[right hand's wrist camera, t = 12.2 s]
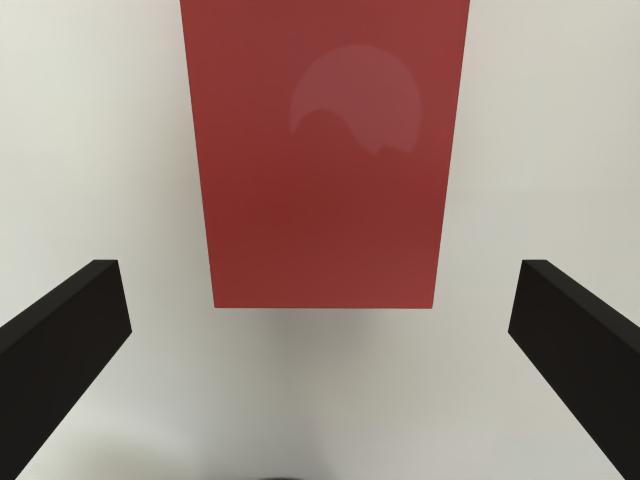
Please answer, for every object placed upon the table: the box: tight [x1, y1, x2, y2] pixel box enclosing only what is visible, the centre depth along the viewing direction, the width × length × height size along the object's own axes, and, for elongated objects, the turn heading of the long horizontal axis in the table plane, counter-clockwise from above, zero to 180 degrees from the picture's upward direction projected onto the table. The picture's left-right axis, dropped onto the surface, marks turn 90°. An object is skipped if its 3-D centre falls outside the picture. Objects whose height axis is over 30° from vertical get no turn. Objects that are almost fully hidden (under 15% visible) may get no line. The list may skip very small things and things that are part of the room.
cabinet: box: [180, 0, 470, 309], centre depth 21 cm, size 17×11×11 cm, turn 0°
